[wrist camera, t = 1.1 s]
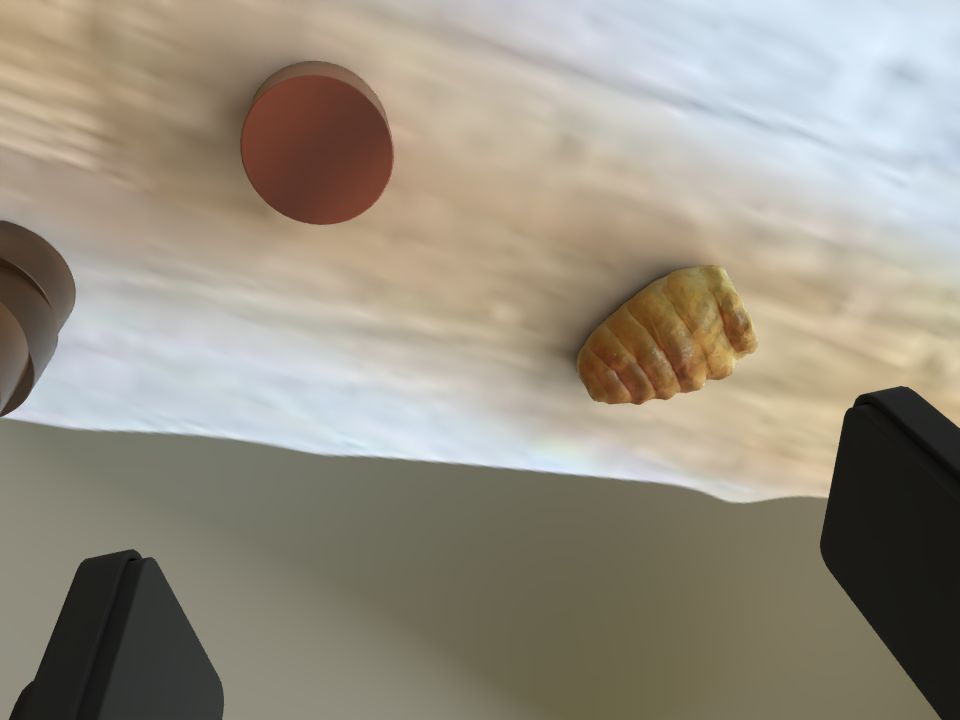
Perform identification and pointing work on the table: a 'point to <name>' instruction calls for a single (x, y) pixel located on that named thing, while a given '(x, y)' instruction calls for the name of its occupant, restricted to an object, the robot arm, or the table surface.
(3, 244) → the stacked discs
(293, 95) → the reddish-brown squat cylinder
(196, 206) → the table surface
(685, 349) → the pastry
